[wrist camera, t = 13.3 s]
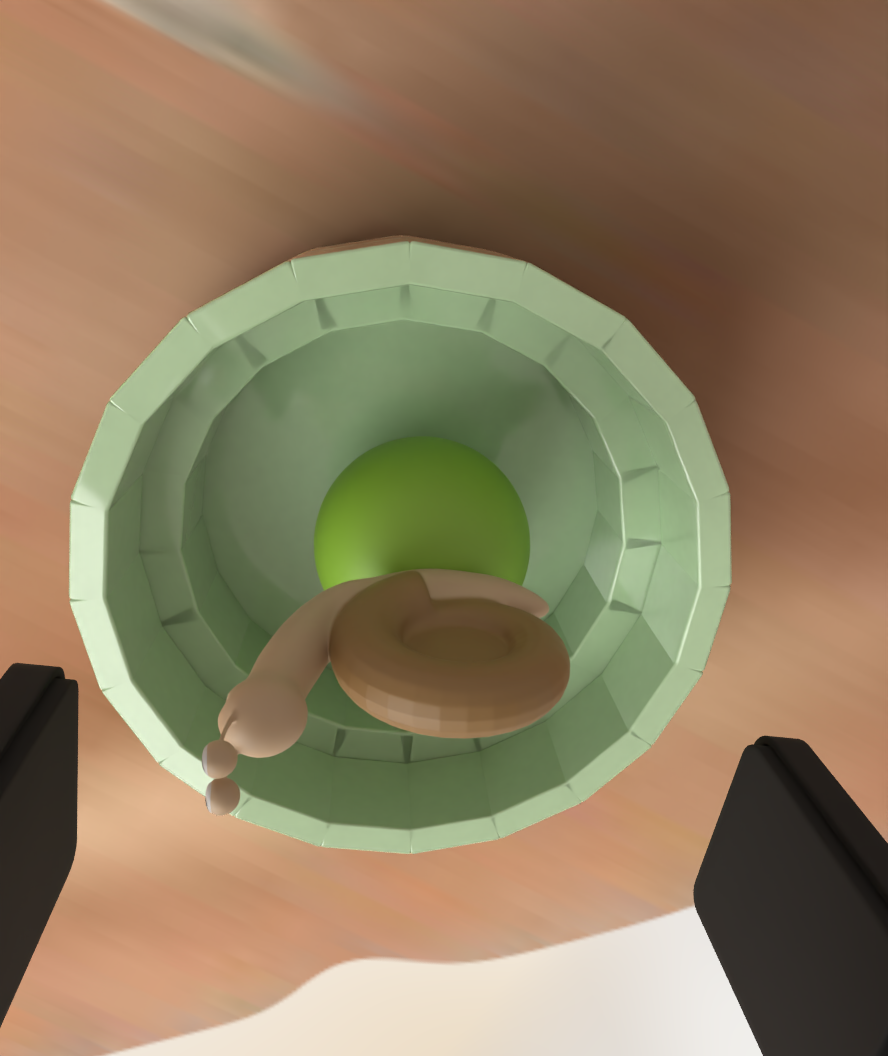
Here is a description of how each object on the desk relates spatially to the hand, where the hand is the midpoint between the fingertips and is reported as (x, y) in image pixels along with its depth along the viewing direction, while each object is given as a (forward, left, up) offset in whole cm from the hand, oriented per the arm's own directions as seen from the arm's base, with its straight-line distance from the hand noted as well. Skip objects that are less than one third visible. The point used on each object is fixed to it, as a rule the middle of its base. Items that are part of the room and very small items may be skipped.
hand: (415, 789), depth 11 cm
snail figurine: (0, 0, -13) cm, 13 cm away
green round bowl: (0, 0, -13) cm, 13 cm away
